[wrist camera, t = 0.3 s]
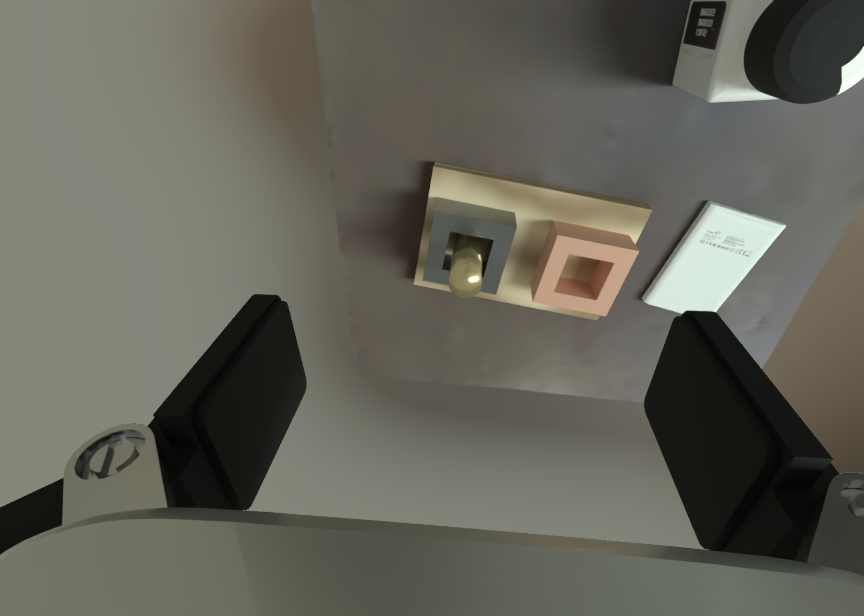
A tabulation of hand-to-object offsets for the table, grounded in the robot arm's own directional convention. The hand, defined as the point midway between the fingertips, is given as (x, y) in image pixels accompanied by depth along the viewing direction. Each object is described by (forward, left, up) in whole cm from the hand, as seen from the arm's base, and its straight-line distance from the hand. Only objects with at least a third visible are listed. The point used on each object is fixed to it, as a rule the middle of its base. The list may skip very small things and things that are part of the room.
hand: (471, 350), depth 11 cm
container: (-8, +19, -36) cm, 41 cm away
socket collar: (+14, +14, -34) cm, 39 cm away
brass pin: (+14, +2, -34) cm, 37 cm away
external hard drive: (+12, +28, -36) cm, 47 cm away
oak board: (+14, +8, -35) cm, 39 cm away
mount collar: (+14, +2, -34) cm, 37 cm away
